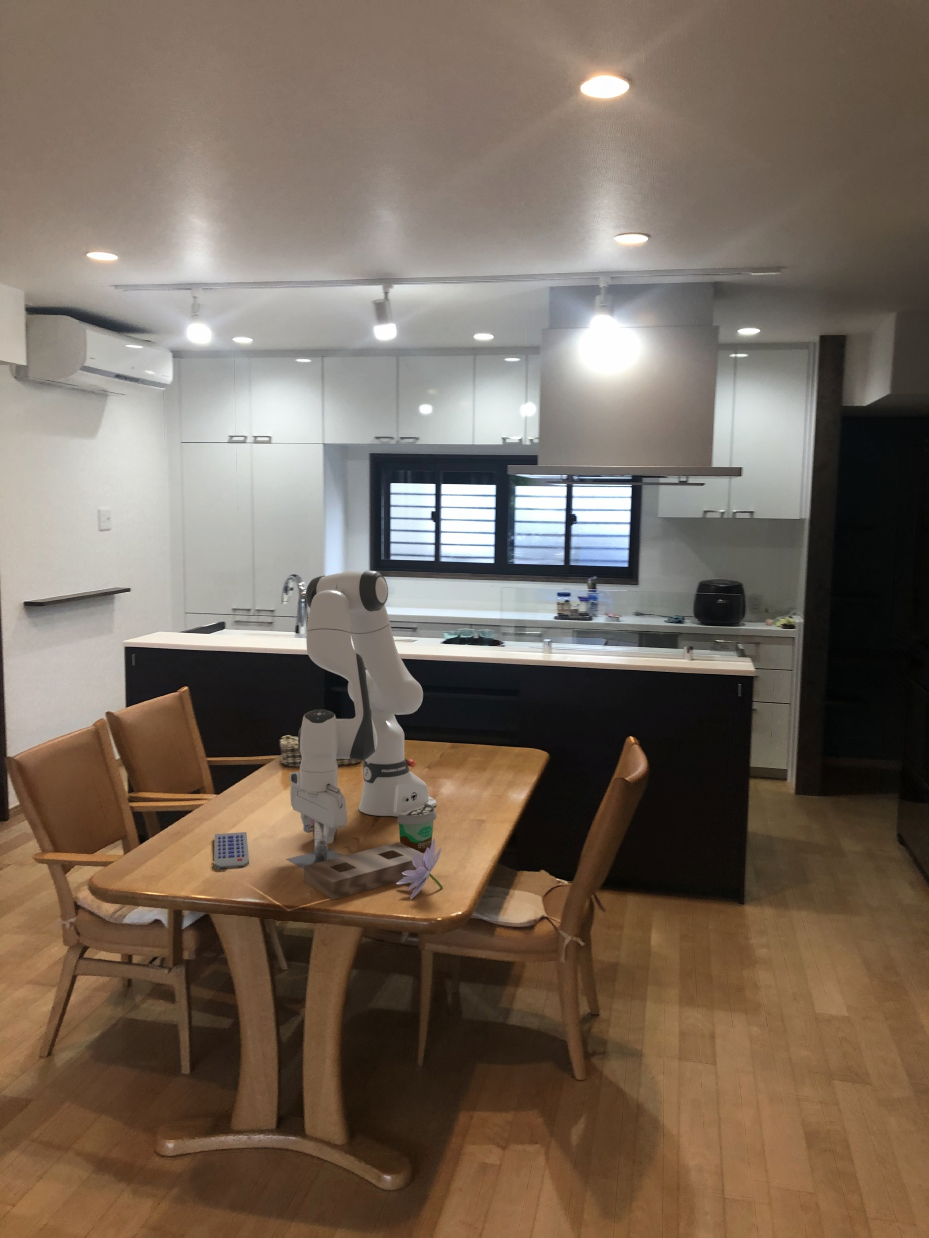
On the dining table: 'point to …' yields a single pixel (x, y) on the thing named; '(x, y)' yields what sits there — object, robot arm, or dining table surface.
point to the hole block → (360, 870)
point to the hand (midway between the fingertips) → (318, 837)
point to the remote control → (230, 850)
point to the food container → (417, 828)
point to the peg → (320, 842)
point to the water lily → (421, 870)
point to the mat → (311, 858)
